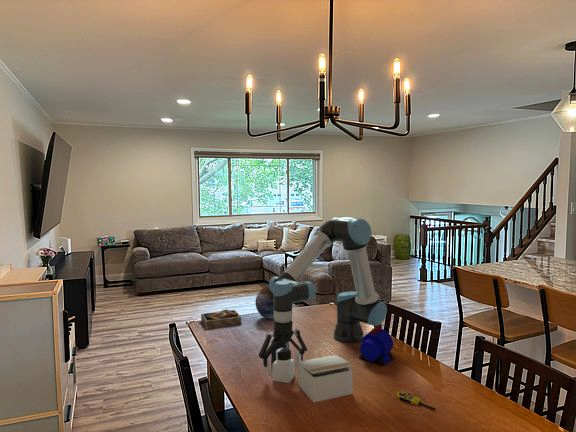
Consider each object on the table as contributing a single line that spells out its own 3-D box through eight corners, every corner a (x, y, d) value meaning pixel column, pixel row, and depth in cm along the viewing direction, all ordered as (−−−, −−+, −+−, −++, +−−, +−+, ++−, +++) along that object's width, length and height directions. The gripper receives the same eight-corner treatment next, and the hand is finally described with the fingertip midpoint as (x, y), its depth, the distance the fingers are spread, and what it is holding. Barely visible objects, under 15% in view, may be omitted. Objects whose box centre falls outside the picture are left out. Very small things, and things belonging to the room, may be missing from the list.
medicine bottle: (294, 375, 173) (294, 347, 172) (289, 383, 166) (288, 354, 166) (278, 373, 175) (278, 345, 175) (272, 381, 169) (272, 351, 168)
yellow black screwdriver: (400, 389, 158) (438, 403, 147) (400, 394, 158) (438, 408, 147) (393, 393, 154) (432, 408, 144) (393, 399, 154) (432, 414, 144)
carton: (334, 378, 170) (334, 356, 170) (352, 394, 157) (352, 370, 157) (298, 385, 165) (298, 363, 164) (313, 402, 152) (313, 378, 151)
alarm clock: (394, 359, 188) (394, 326, 187) (380, 368, 179) (380, 333, 178) (370, 352, 197) (370, 320, 195) (356, 360, 188) (356, 327, 186)
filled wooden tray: (234, 316, 253) (234, 309, 253) (241, 323, 239) (241, 316, 239) (201, 320, 246) (201, 313, 245) (206, 328, 232) (205, 321, 231)
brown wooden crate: (238, 320, 244) (237, 312, 244) (215, 328, 233) (214, 319, 232) (226, 316, 252) (226, 308, 252) (203, 323, 241) (203, 315, 240)
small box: (285, 366, 183) (284, 342, 182) (270, 364, 184) (270, 341, 183) (290, 356, 193) (289, 333, 192) (276, 355, 194) (275, 333, 194)
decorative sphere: (252, 323, 239) (251, 288, 238) (260, 313, 259) (259, 280, 257) (285, 325, 236) (284, 289, 234) (290, 314, 256) (290, 281, 254)
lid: (335, 356, 170) (335, 354, 170) (353, 366, 157) (353, 364, 157) (297, 363, 164) (297, 361, 164) (312, 373, 151) (312, 372, 151)
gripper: (307, 313, 177) (307, 362, 179) (250, 321, 168) (251, 372, 170) (315, 318, 170) (315, 369, 172) (256, 326, 161) (256, 380, 163)
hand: (283, 371), depth 171 cm, fingers open, 13 cm apart
